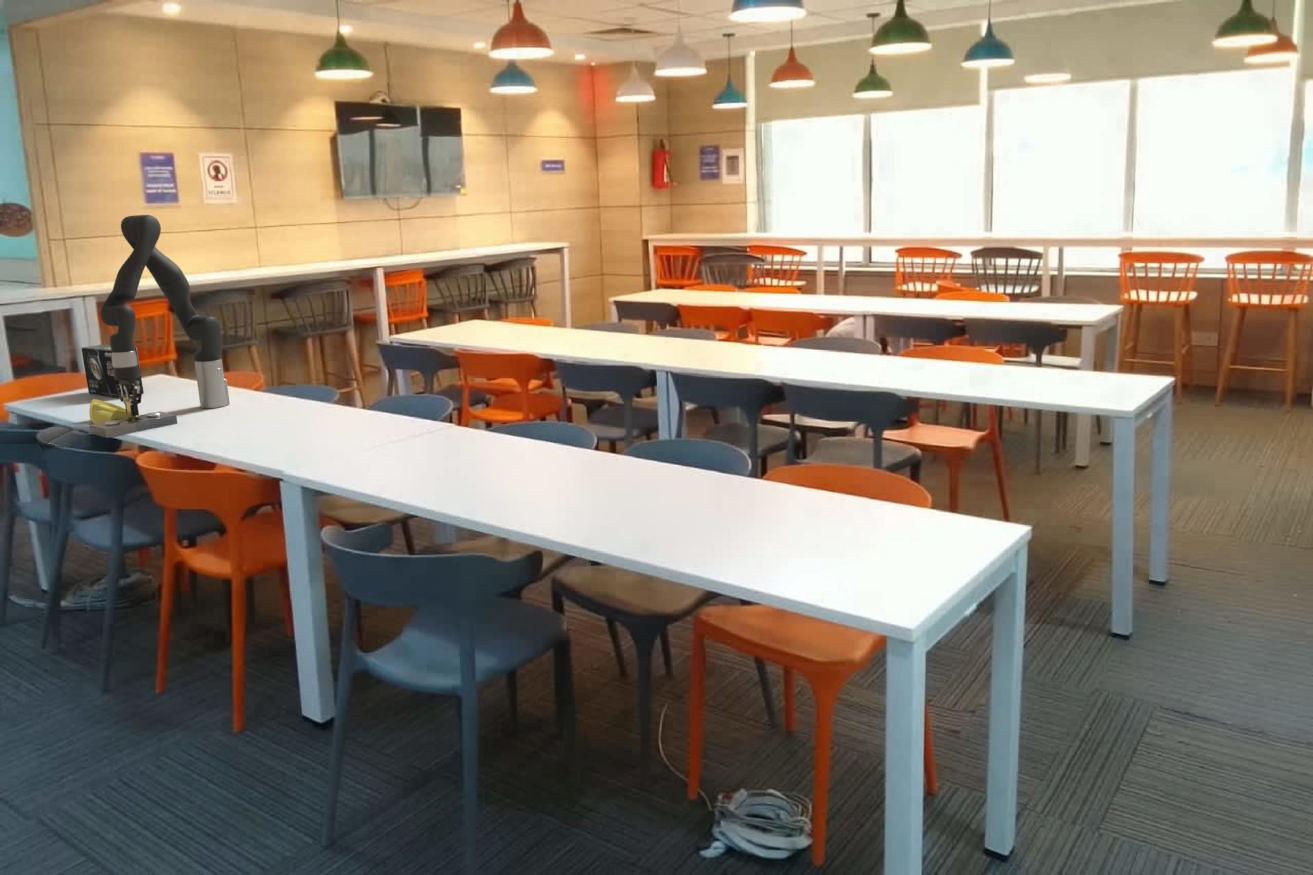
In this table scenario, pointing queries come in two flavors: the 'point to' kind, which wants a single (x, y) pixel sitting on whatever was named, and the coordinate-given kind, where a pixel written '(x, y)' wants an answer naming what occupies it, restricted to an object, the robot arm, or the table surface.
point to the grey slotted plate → (133, 424)
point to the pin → (130, 417)
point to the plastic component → (105, 411)
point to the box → (102, 371)
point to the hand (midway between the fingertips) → (132, 415)
